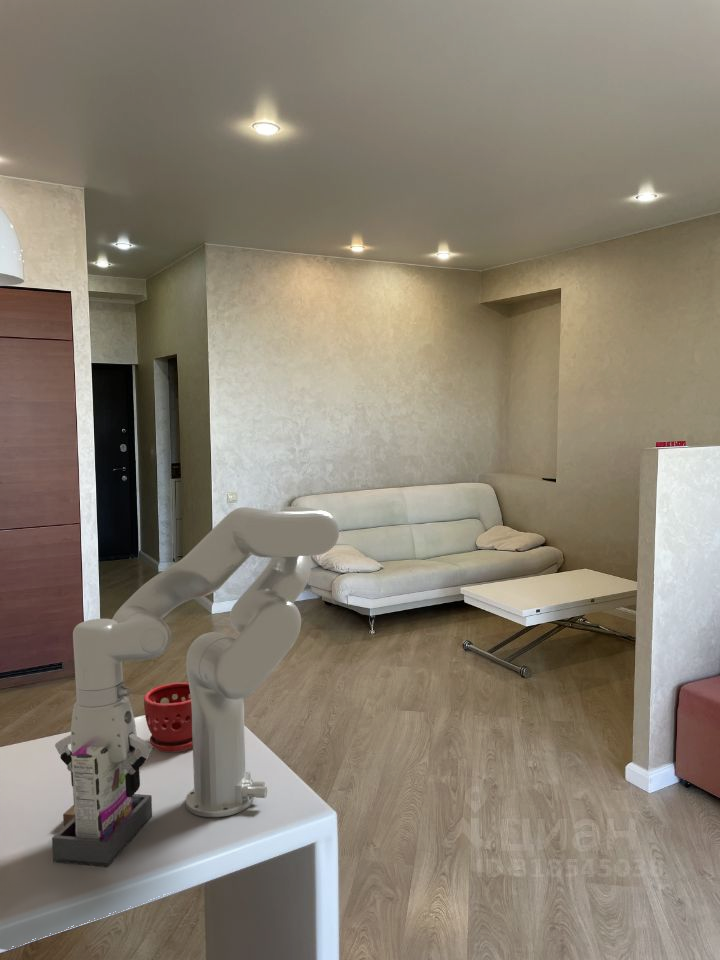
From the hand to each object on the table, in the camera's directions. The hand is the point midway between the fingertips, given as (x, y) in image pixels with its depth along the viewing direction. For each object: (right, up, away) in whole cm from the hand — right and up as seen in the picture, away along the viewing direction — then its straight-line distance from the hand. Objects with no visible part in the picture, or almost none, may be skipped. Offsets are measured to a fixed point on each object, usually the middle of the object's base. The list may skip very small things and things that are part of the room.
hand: (106, 791), depth 126 cm
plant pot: (+2, -6, +38) cm, 39 cm away
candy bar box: (0, -8, 0) cm, 8 cm away
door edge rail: (-6, -7, +11) cm, 15 cm away
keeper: (0, -8, 0) cm, 8 cm away
